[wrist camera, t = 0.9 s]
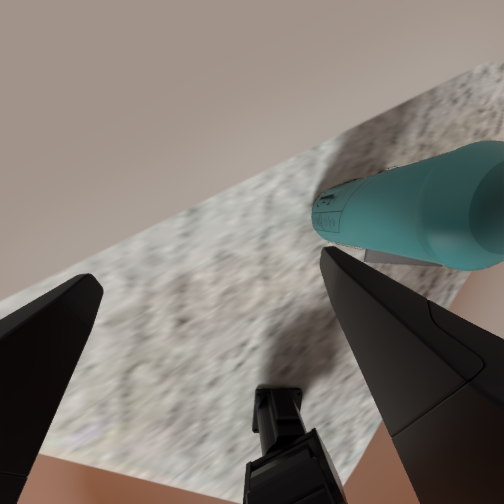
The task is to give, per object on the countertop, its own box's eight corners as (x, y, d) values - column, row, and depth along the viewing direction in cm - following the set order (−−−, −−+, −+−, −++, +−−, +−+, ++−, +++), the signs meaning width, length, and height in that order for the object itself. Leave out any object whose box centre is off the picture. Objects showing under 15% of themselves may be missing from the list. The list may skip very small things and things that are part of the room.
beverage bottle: (339, 250, 26) (681, 347, 6) (294, 227, 25) (537, 262, 5) (364, 202, 25) (832, 145, 6) (318, 177, 24) (702, 0, 5)
